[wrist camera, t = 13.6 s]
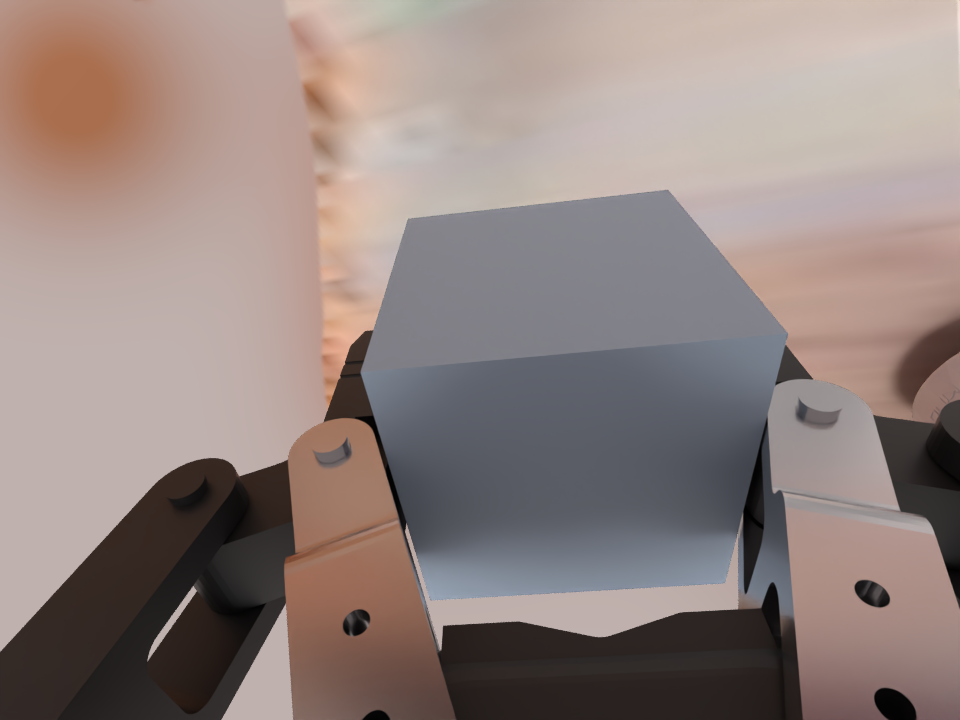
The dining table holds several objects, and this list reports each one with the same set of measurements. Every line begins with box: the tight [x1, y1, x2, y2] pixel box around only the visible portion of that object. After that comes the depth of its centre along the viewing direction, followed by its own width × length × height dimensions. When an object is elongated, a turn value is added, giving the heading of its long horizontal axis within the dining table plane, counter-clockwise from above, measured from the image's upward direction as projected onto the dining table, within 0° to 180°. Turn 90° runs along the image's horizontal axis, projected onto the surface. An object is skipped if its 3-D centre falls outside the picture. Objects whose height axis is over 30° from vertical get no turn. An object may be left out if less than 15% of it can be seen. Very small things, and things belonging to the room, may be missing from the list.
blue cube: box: [361, 190, 788, 600], centre depth 10 cm, size 5×5×5 cm
